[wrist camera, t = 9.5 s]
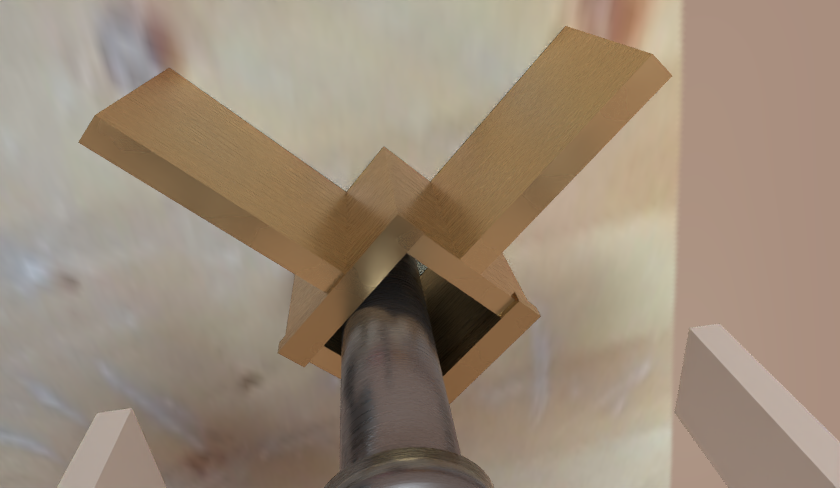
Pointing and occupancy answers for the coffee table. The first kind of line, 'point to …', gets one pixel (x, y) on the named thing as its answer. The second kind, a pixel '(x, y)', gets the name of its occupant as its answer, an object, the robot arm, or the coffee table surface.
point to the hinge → (390, 196)
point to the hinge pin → (397, 395)
